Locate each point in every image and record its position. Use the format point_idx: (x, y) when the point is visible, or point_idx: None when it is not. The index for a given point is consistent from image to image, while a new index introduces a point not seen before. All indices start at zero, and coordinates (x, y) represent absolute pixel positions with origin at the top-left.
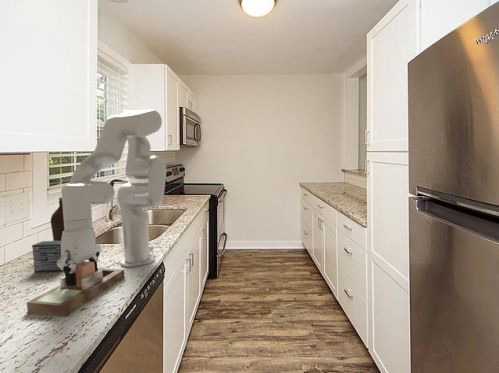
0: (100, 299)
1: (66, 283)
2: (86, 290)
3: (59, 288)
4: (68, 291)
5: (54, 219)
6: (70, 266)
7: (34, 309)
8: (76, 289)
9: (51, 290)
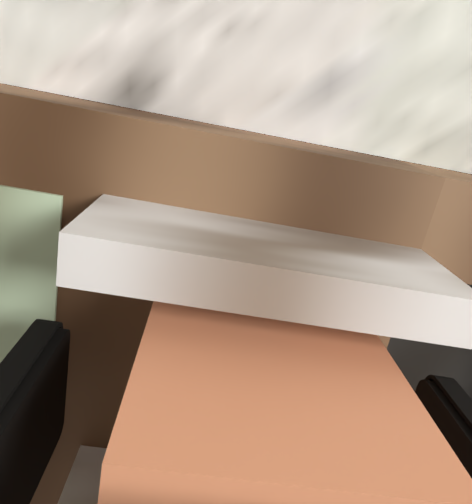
0: None
1: (31, 335)
2: (57, 492)
3: (78, 188)
4: (2, 351)
5: None
6: (117, 498)
7: None
8: (71, 394)
9: (7, 119)
